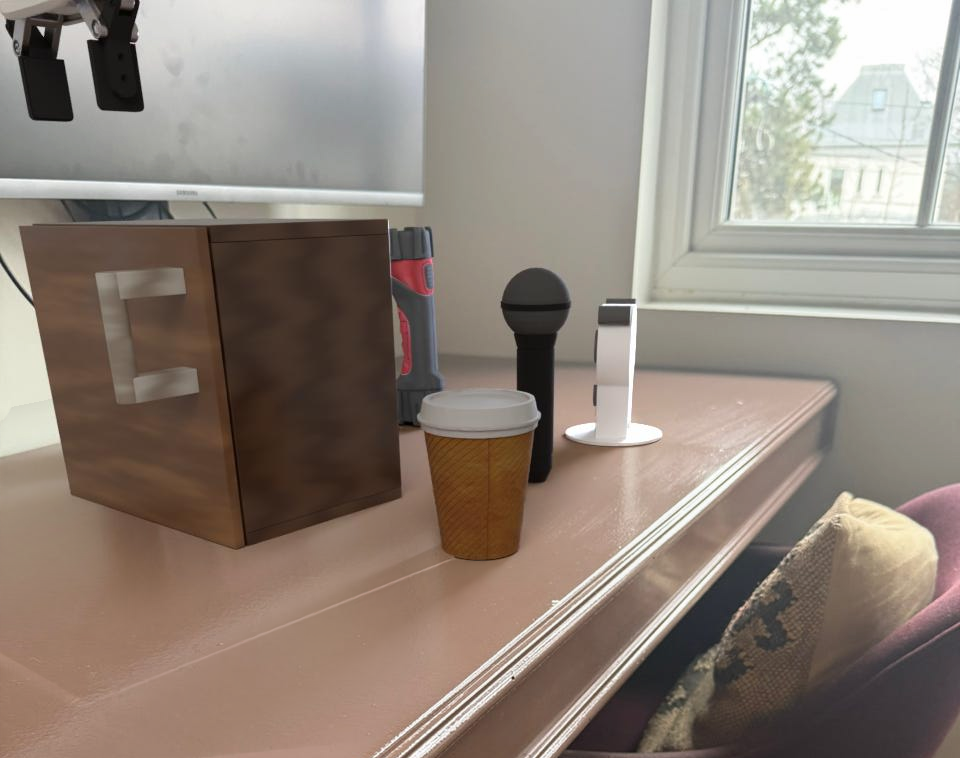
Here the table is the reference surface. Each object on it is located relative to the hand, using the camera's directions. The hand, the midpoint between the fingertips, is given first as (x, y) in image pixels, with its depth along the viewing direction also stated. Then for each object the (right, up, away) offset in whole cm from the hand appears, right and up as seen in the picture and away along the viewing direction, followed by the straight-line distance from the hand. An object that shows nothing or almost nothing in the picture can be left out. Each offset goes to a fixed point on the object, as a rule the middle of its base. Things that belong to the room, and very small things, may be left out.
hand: (85, 116), depth 68 cm
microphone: (+33, -21, +29) cm, 49 cm away
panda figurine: (+44, -13, +47) cm, 66 cm away
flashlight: (+19, -9, +56) cm, 60 cm away
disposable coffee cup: (+28, -30, +11) cm, 42 cm away
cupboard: (+5, -23, +25) cm, 35 cm away
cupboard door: (-4, -27, +16) cm, 32 cm away
